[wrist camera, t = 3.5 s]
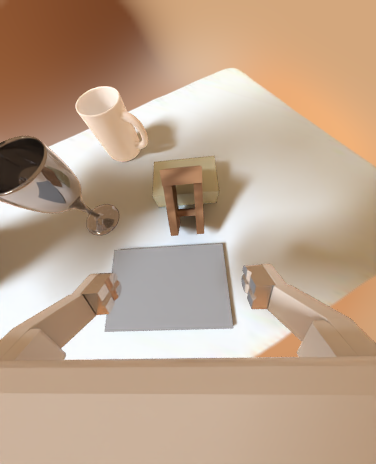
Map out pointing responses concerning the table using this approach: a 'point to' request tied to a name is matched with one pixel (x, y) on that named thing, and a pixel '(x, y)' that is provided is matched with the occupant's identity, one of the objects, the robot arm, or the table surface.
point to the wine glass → (46, 183)
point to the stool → (169, 182)
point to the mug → (112, 123)
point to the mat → (171, 289)
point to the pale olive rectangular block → (187, 190)
